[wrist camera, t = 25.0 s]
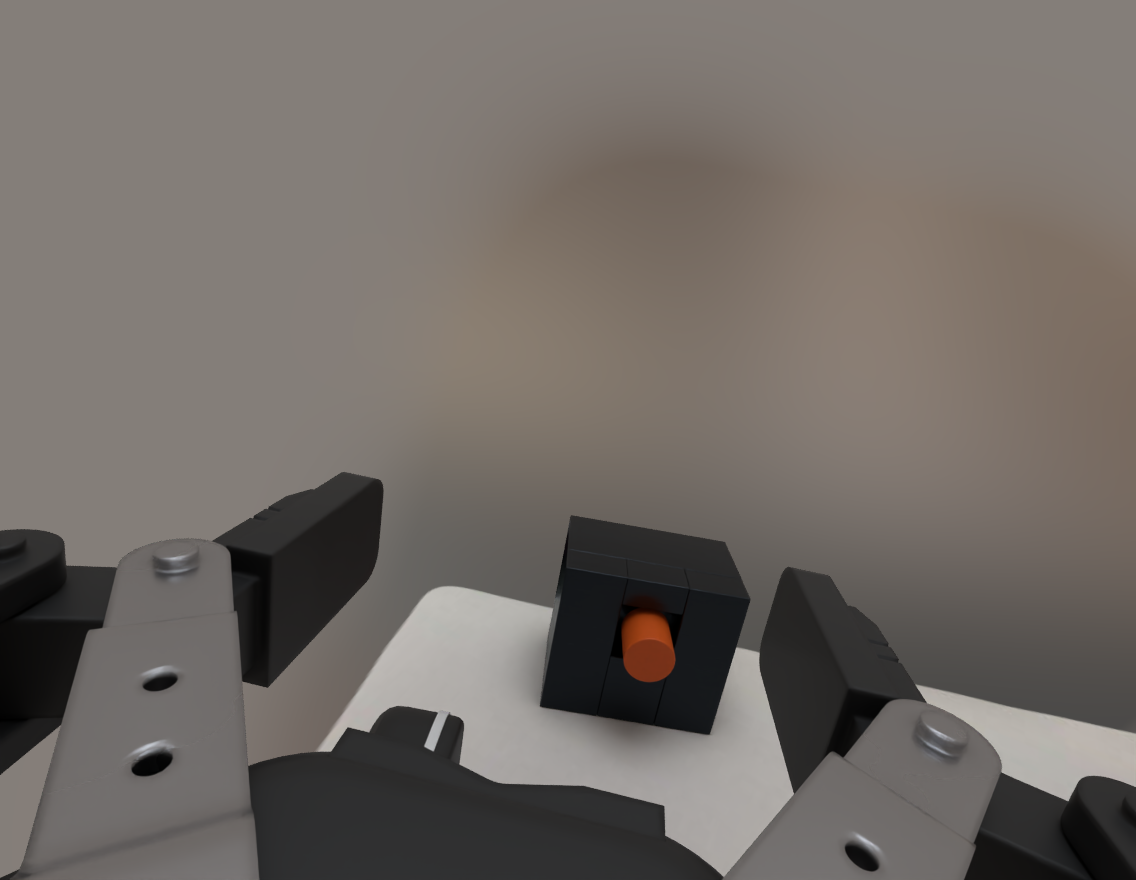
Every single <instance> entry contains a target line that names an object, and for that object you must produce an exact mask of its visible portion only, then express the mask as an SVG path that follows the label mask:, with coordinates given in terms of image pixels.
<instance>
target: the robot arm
mask: <svg viewBox="0 0 1136 880" xmlns="http://www.w3.org/2000/svg"><path fill="white" fill-rule="evenodd" d="M382 503H383V484H382V482H381V481H380V480H379V479H375V478H370V477H365V476H361V475H356V474H351V473H346V472H342V473H340V474H338V475H337V476H335V477H334V478H332V479H330V480H329V481H327V482H326V483H324V484H323V485H321V486H319V487H318V488H316V489H315V490H313V489H310V490H307V491H303V492H300V493H296V494H293V495H289V496H286V497H284V498H283V499H281V500H279V501H278V502H276V503H274V504H273V505H271V506H269V508H268V509H264V510H263V511H261V512H259V513H258V514H256V515H255V516H254V518H253V519H252V518H249V519H248V520H246V521H245V522H243V523H241V524H239V525H238V526H236V527H235V528H233V529H231V530H230V531H228V532H226V533H225V534H223V535H221V536H220V537H218V538H216V539H215V540H213V541H208V540H202V539H172V540H166V541H160V542H156V543H151V544H148V545H145V546H142V547H140V548H138V549H135V550H133V551H132V552H130V553H128V554H127V555H126V556H124V557H123V558H122V559H121V560H120V562H119V564H118V567H117V568H115V567H88V566H66V560H65V546H64V541H63V539H62V538H61V537H59V536H58V535H56V534H53V533H50V532H46V531H40V530H28V529H27V530H25V529H20V530H18V529H17V530H4V531H0V775H1V774H2V773H3V772H4V771H5V770H6V769H8V768H9V767H10V766H11V765H13V764H14V763H15V762H16V761H18V760H19V759H20V758H21V757H22V756H24V755H25V754H26V753H27V752H28V751H30V750H31V749H32V748H33V747H34V746H36V745H37V744H38V743H39V742H41V741H42V740H43V739H44V738H46V737H47V736H48V735H49V734H50V733H51V732H53V731H54V730H55V729H56V728H58V727H59V726H60V725H61V728H60V731H59V735H58V738H57V742H56V745H55V749H54V753H53V757H52V760H51V763H50V767H49V771H48V774H47V778H46V781H45V785H44V788H43V792H42V796H41V799H40V803H39V806H38V810H37V814H36V817H35V821H34V825H33V828H32V832H31V835H30V839H29V842H28V846H27V849H26V853H25V856H24V860H23V862H22V865H21V867H20V869H19V870H17V871H15V872H12V873H10V874H8V875H6V876H4V877H1V878H0V880H1136V787H1134V786H1131V785H1129V784H1126V783H1124V782H1121V781H1117V780H1114V779H1111V778H1106V777H1101V776H1087V777H1084V778H1082V779H1081V780H1080V781H1079V782H1078V784H1077V786H1076V788H1075V790H1074V791H1073V793H1072V795H1071V797H1070V799H1069V801H1066V800H1063V799H1061V798H1059V797H1056V796H1054V795H1052V794H1049V793H1047V792H1045V791H1042V790H1040V789H1038V788H1035V787H1033V786H1031V785H1028V784H1026V783H1024V782H1021V781H1019V780H1017V779H1014V778H1012V777H1010V776H1008V775H1006V774H1003V773H1002V772H1001V769H1002V764H1001V760H1000V757H999V755H998V753H997V752H996V750H995V749H994V747H993V746H992V745H991V744H990V743H989V742H988V740H987V739H986V738H984V737H983V736H982V735H981V734H980V733H979V732H978V731H977V730H975V729H974V728H973V727H972V726H970V725H969V724H967V723H966V722H964V721H963V720H961V719H959V718H958V717H956V716H954V715H953V714H951V713H949V712H947V711H945V710H943V709H940V708H938V707H936V706H933V705H930V704H927V702H926V701H925V699H924V698H923V696H922V695H921V693H920V692H919V690H918V689H917V687H916V685H915V684H914V682H913V681H912V679H911V678H910V676H909V675H908V673H907V672H906V670H905V668H904V667H903V665H902V664H901V663H898V660H899V659H898V658H897V656H896V654H895V653H894V651H893V650H892V649H891V648H890V647H888V642H887V641H886V639H885V638H884V636H883V635H882V633H881V631H880V630H879V628H878V627H877V625H876V624H874V623H873V622H872V621H871V620H870V619H868V618H867V617H866V616H865V615H864V614H863V613H861V612H860V611H859V610H858V609H857V608H855V607H852V606H847V604H846V602H845V601H844V599H843V598H842V596H841V594H840V592H839V591H838V589H837V587H836V586H835V584H834V582H833V581H832V579H831V577H830V576H828V575H824V574H819V573H815V572H810V571H805V570H801V569H796V568H791V567H787V568H786V569H785V570H784V571H783V573H782V575H781V578H780V581H779V584H778V587H777V591H776V594H775V598H774V601H773V604H772V607H771V611H770V614H769V617H768V621H767V624H766V627H765V631H764V634H763V638H762V642H761V648H760V658H759V663H760V672H761V676H762V680H763V683H764V687H765V691H766V694H767V698H768V701H769V705H770V709H771V712H772V716H773V719H774V723H775V727H776V730H777V734H778V738H779V741H780V745H781V748H782V752H783V756H784V759H785V763H786V767H787V770H788V774H789V777H790V781H791V785H792V788H793V792H794V795H793V796H792V797H791V799H790V800H789V801H788V802H787V803H786V805H785V806H784V807H783V808H782V809H781V810H780V812H779V813H778V814H777V815H776V816H775V818H774V819H773V820H772V821H771V822H770V823H769V825H768V826H767V827H766V828H765V829H764V831H763V832H762V833H761V834H760V835H759V836H758V838H757V839H756V840H755V841H754V842H753V844H752V845H751V846H750V847H749V848H748V849H747V851H746V852H745V853H744V854H743V855H742V857H741V858H740V859H739V860H738V861H737V862H736V864H735V865H734V866H733V867H732V868H731V870H730V871H729V872H728V873H727V874H726V875H725V877H723V876H722V875H721V874H720V873H719V872H718V871H716V870H715V869H714V868H713V867H712V866H711V865H709V864H708V863H707V862H706V861H704V860H703V859H702V858H700V857H699V856H698V855H696V854H695V853H694V852H692V851H690V850H689V849H687V848H686V847H684V846H683V845H681V844H679V843H678V842H676V841H674V840H672V839H670V838H668V837H666V836H665V813H664V806H662V805H658V804H654V803H650V802H646V801H642V800H638V799H634V798H630V797H626V796H622V795H618V794H614V793H610V792H606V791H602V790H598V789H594V788H590V787H586V786H563V785H525V784H501V783H497V782H493V781H491V780H489V779H487V778H485V777H483V776H481V775H479V774H477V773H475V772H473V771H471V770H469V769H467V768H465V767H463V766H461V765H459V764H457V763H455V762H453V761H451V760H449V759H447V758H445V757H443V756H441V755H440V754H438V753H436V752H434V751H432V750H430V749H428V748H426V747H424V746H421V745H417V744H413V743H409V742H405V741H401V740H397V739H393V738H389V737H385V736H381V735H377V734H372V733H368V732H364V731H360V730H356V729H352V728H347V729H346V731H345V732H344V733H343V735H342V736H341V738H340V739H339V741H338V742H337V744H336V745H335V747H334V748H333V750H332V751H331V752H311V753H300V754H294V755H288V756H282V757H277V758H274V759H270V760H266V761H262V762H258V763H256V764H253V765H250V766H248V758H247V744H246V730H245V716H244V702H243V690H242V681H243V682H247V683H251V684H255V685H259V686H263V687H267V688H268V687H269V686H270V685H271V683H273V682H274V680H275V679H276V678H277V677H278V676H279V675H280V674H281V673H282V672H283V671H284V670H285V669H286V668H287V667H288V665H289V664H290V663H291V662H292V661H293V660H294V659H295V658H296V657H297V656H298V655H299V654H300V653H301V652H302V650H303V649H304V648H305V647H306V646H307V645H308V644H309V643H310V642H311V641H312V640H313V639H314V638H315V637H316V635H317V634H318V633H319V632H320V631H321V630H322V629H323V628H324V627H325V626H326V625H327V624H328V623H329V621H330V620H331V619H332V618H333V617H334V616H335V615H336V614H337V613H338V612H339V611H340V610H341V608H343V606H344V605H345V604H346V603H347V602H348V601H349V600H350V599H351V598H352V597H353V596H354V595H355V593H357V591H358V590H359V589H360V588H361V587H362V586H363V585H364V584H365V583H366V582H367V580H368V579H369V577H370V576H371V574H372V571H373V569H374V567H375V563H376V560H377V556H378V549H379V538H380V526H381V515H382Z"/></svg>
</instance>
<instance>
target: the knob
mask: <svg viewBox="0 0 1136 880" xmlns="http://www.w3.org/2000/svg"><path fill="white" fill-rule="evenodd" d="M621 635H622V648H623V661H624V666H625V668H626V670H627V672H628V673H629V674H630V675H631V676H632V677H634V678H635V679H637V680H640V681H644V682H655V681H659V680H661V679H663V678H665V677H666V676H668V675H669V674H670V673H671V671H672V670H673V668H674V665H675V653H674V648H673V643H672V639H671V634H670V629H669V624H668V621H667V619H666V617H665V616H664V615H663V614H662V613H661V612H659V611H657V610H652V609H646V608H637V609H634V610H632V611H631V612H629V613H628V614H627V615H626V616H625V618H624V619H623V621H622V624H621Z"/></svg>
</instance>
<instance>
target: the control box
mask: <svg viewBox="0 0 1136 880" xmlns="http://www.w3.org/2000/svg"><path fill="white" fill-rule="evenodd" d="M749 603H750V597H749V595H748V593H747V590H746V588H745V586H744V584H743V581H742V579H741V576H740V574H739V572H738V570H737V568H736V565H735V563H734V561H733V559H732V557H731V554H730V552H729V550H728V548H727V546H726V543H725V542H722V541H716V540H710V539H705V538H699V537H693V536H687V535H682V534H676V533H670V532H664V531H658V530H653V529H647V528H641V527H636V526H630V525H624V524H618V523H612V522H607V521H601V520H595V519H589V518H583V517H578V516H571V517H570V523H569V528H568V533H567V538H566V544H565V550H564V554H563V560H562V565H561V570H560V575H559V581H558V586H557V591H556V597H555V602H554V607H553V612H552V618H551V623H550V628H549V634H548V641H547V649H546V658H545V666H544V675H543V684H542V692H541V701H540V706H542V707H548V708H554V709H560V710H566V711H571V712H577V713H583V714H589V715H595V716H596V715H598V716H602V717H608V718H614V719H620V720H626V721H632V722H638V723H644V724H649V725H653V724H654V725H656V726H661V727H667V728H673V729H679V730H685V731H691V732H697V733H703V734H710V732H711V729H712V726H713V722H714V719H715V716H716V712H717V709H718V706H719V702H720V699H721V696H722V692H723V689H724V686H725V683H726V679H727V676H728V673H729V669H730V666H731V663H732V659H733V656H734V653H735V649H736V646H737V643H738V639H739V636H740V633H741V629H742V626H743V623H744V620H745V616H746V613H747V609H748V606H749ZM637 608H646V609H652V610H657V611H659V612H661V613H662V614H663V615H664V616H665V617H666V619H667V621H668V624H669V629H670V634H671V639H672V643H673V648H674V653H675V665H674V668H673V670H672V671H671V673H670V674H669V675H668V676H666V677H665V678H663V679H661V680H659V681H655V682H644V681H640V680H637V679H635V678H634V677H632V676H631V675H630V674H629V673H628V672H627V670H626V668H625V666H624V661H623V648H622V635H621V624H622V621H623V619H624V618H625V616H626V615H627V614H628V613H629V612H631V611H632V610H634V609H637Z"/></svg>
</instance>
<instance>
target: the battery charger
mask: <svg viewBox="0 0 1136 880" xmlns="http://www.w3.org/2000/svg"><path fill="white" fill-rule="evenodd" d="M463 732H464V723H463V721H462V720H461V719H460V718H459V717H456V716H452V715H451V714H450V712H446V711H439V712H438V713H437V712H432V711H427V710H422V709H417V708H412V707H404V706H396V707H393V708H389V709H388V710H386V711H385V712H384V713H382V714H381V715H380V716H379V718H378V719H377V721H376V722H375V723H374V725H373V727H372V728H371V730H370V732H369V733H372V734H377V735H381V736H385V737H389V738H393V739H397V740H401V741H405V742H409V743H413V744H417V745H421V746H424V747H426V748H428V749H430V750H432V751H434V752H436V753H438V754H440V755H441V756H443V757H445V758H447V759H449V760H451V761H453V762H455V763H457V764H459V762H460V755H461V747H462V740H463Z"/></svg>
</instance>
